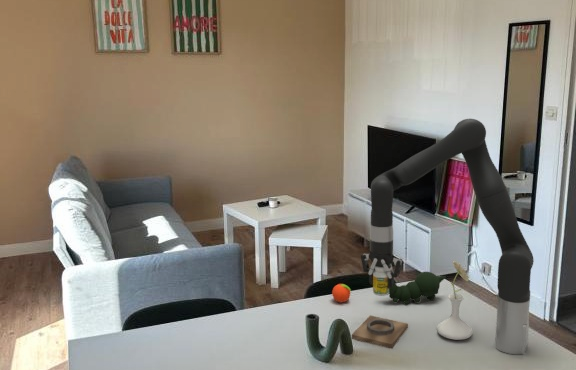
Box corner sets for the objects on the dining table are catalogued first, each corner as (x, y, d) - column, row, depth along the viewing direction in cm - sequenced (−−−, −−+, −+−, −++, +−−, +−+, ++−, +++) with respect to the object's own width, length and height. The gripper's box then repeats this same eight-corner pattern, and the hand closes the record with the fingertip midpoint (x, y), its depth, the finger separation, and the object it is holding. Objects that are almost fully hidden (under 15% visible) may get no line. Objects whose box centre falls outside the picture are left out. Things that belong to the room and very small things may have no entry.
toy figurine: (388, 312, 209) (452, 301, 212) (384, 265, 205) (449, 254, 207) (380, 302, 218) (442, 291, 221) (377, 256, 214) (439, 246, 216)
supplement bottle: (386, 289, 190) (386, 262, 188) (391, 295, 185) (391, 268, 183) (370, 290, 189) (371, 263, 187) (375, 297, 184) (375, 269, 182)
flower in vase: (474, 344, 181) (477, 271, 176) (437, 341, 184) (440, 269, 178) (469, 325, 194) (473, 257, 188) (435, 323, 196) (438, 255, 191)
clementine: (355, 300, 216) (355, 283, 215) (348, 307, 211) (347, 289, 209) (337, 296, 221) (337, 279, 219) (329, 302, 215) (328, 285, 213)
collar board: (408, 327, 194) (408, 319, 193) (391, 348, 180) (391, 339, 180) (370, 319, 201) (370, 311, 200) (351, 338, 187) (351, 330, 187)
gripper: (406, 237, 182) (405, 286, 186) (365, 231, 190) (365, 278, 193) (398, 244, 176) (398, 294, 180) (356, 238, 183) (356, 286, 187)
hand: (381, 286), depth 187 cm, fingers closed on supplement bottle, 5 cm apart
